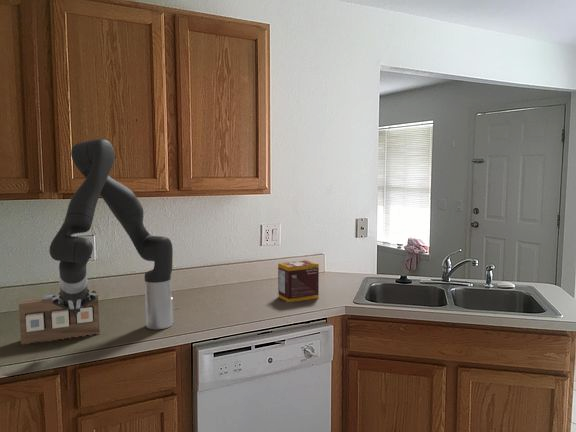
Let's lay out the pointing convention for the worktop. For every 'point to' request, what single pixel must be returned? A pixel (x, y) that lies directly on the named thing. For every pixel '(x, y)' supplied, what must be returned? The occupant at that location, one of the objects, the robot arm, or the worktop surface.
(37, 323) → the slate key
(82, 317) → the terracotta key
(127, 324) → the worktop surface
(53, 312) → the sage key
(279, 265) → the supplement box
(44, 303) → the keypad panel
